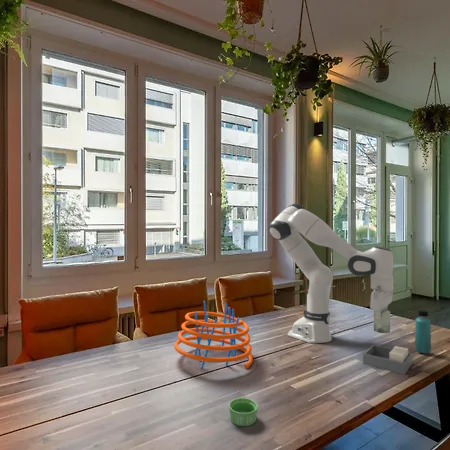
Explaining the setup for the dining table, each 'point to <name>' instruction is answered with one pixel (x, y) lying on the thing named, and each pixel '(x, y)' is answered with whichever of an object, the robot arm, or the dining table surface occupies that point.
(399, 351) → the cream rectangular block
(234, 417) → the ramekin
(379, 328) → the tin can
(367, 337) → the dining table surface
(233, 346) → the orange spiral coil rods
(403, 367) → the tote
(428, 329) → the beverage bottle
